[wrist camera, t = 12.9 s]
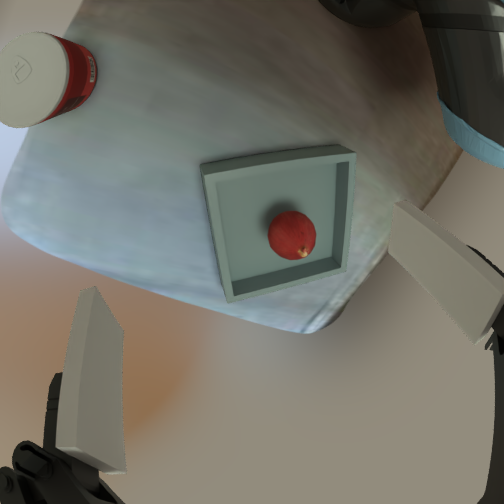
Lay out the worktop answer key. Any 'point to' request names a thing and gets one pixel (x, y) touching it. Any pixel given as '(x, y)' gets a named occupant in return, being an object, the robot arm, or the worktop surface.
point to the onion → (292, 235)
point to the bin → (269, 206)
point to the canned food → (43, 78)
